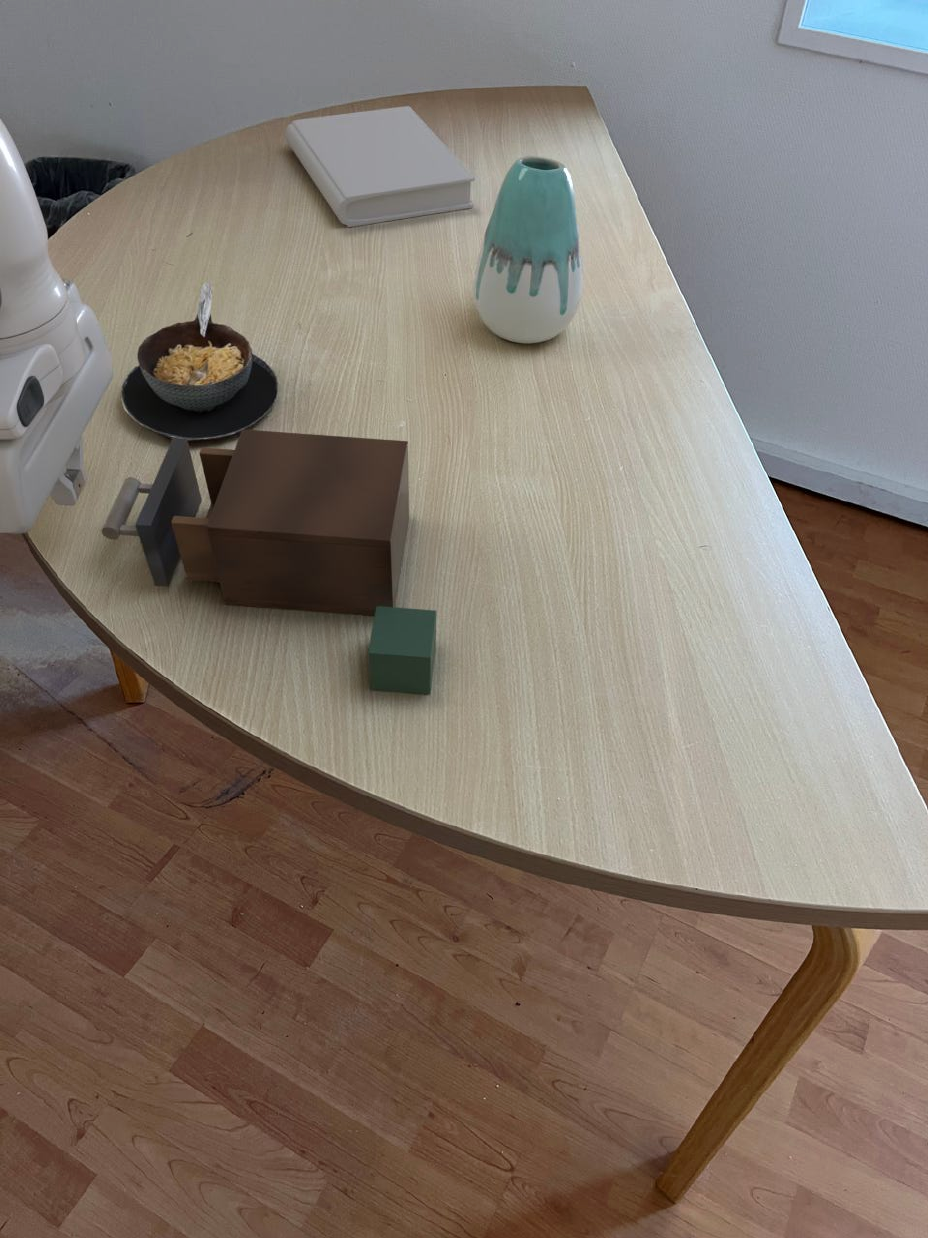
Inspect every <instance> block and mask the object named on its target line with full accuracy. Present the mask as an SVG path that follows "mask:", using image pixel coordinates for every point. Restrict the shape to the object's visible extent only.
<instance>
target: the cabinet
mask: <svg viewBox="0 0 928 1238" xmlns="http://www.w3.org/2000/svg"><path fill="white" fill-rule="evenodd" d="M234 450H235V451H234V453H233V456H232V459H231V462H230V464H229V467H228V470H227V472H226V475H225V478H224V481H223V483H222V486H221V489H220V492H219V494H218V497H217V500H216V503H215V505H214V508H213V511H212V514H211V516H210V519H209V522H208V525H207V531H208V536H209V540H210V544H211V548H212V552H213V556H214V561H215V565H216V569H217V573H218V577H219V581H220V582H219V584H220V585H219V586H220V589H221V594H222V597H223V601H224V604H225V605H227V606H240V607H241V606H242V607H253V608H266V609H267V608H268V609H280V610H281V609H282V610H293V611H306V612H318V613H330V614H331V613H334V614H345V615H359V616H373V617H374V616H375V611H376V606H382V607H395V608H396V604H397V597H398V592H399V591H398V590H399V584H400V578H401V572H402V565H403V559H404V555H405V554H404V553H405V546H406V541H407V535H408V527H409V521H410V490H409V489H410V486H409V485H410V484H409V483H410V482H409V441H407V440H395V439H381V438H367V437H353V436H341V435H328V434H327V435H326V434H325V435H324V434H314V433H298V432H286V431H272V430H271V431H270V430H258V429H247V430H245V429H242V431H241V432H240V433H239V437H238V440H237V442H236V445H235V448H234Z"/></svg>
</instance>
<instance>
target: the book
mask: <svg viewBox="0 0 928 1238" xmlns="http://www.w3.org/2000/svg"><path fill="white" fill-rule="evenodd" d="M285 140H286V142H287V143H288V145H289V147H290V148H291V149H292V151H293V153H294V154H295V156H296V158H297V159H298V160H299V162H300V163H301V165H302V167H303V168H304V169H305V171H306V172H307V174H308V175H309V177H310V178H311V180H312V182H313V183H314V185H315V186H316V188H317V189H318V190H319V192H320V194H321V195H322V196H323V198H324V199H325V201H326V202H327V204H328V205H329V207H330V208H331V210H332V211H333V213H334V214H335V216H336V217H337V219H338V220H339V222H340V223H341V224H342V225H346V227H347V228H354V227H360V226H365V225H371V224H372V225H373V224H378V223H386V222H392V221H398V220H404V219H410V218H415V217H424V216H429V215H435V214H436V215H437V214H441V213H449V212H455V211H462V210H467V209H472V208H474V205H475V204H474V203H473V201H471V185H472V184H471V182H475V180H476V179H475V177H474V175H473V174H471V172H470V171H469V170H468V169H467V168H466V166H464V165H463V164H462V162H461V161H460V160H459V159H458V158H457V157H456V155H454V153H452V151H451V150H450V149H449V148H448V147H447V146H446V145H445V143H444V142H443V141H442V140H440V138H439V137H438V136H437V135H436V134H435V132H433V131H432V130H431V128H430V126H428V125H427V124H426V123H425V122H424V121H423V119H422V118H421V117H420V116H419V115H418V114H417V113H416V111H414V110H413V109H412V107H410V105H406V106H398V107H390V108H382V109H373V110H365V111H357V112H350V113H342V114H334V115H332V114H331V115H325V116H317V117H308V118H302V119H295V120H292V121H291V123H289V124H288V125H287V127H286V129H285Z"/></svg>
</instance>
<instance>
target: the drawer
mask: <svg viewBox="0 0 928 1238" xmlns="http://www.w3.org/2000/svg"><path fill="white" fill-rule="evenodd" d="M188 441H189V440H187V439H184V438H173V439H171V442H170V444H169V446H168V448H167V451H166V452H165V455H164V458H163V460H162V462H161V465H160V467H159V469H158V471H157V473H156V476H155V478H154V481H153V483H142V482H141V480H139V479H138V478H137V477H127V478H125V480H124V481H123V484H122V485H121V487H120V490H119V492H118V494H117V495H116V496H117V497H116V499H115V501H114V503H113V505H112V506H111V509H110V512H109V513H108V515H107V517H106V520H105V522H104V524H103V526H102V528H101V535H102V536H103V537H104V538H106V539H108V540H113V541H115V540H118V539H119V538H120V536H127V537H128V536H130V537H138V538H139V542H140V544H141V548H142V552H143V553H144V557H145V560H146V563H147V566H148V569H149V573H150V575H151V578H152V580H153V585H154V587H162V588H169V587H170V586H171V582H172V580H173V577H174V575H175V573H176V570H177V567H178V564H179V562H180V559H181V563H182V566H183V570H184V573H185V577H186V580H189V581H201V582H216V583H220V581H219V577H218V573H217V569H216V565H215V561H214V556H213V552H212V548H211V544H210V540H209V536H208V531H207V525H208V522H209V519H210V516H211V514H212V511H213V508H214V505H215V503H216V500H217V497H218V494H219V492H220V489H221V486H222V483H223V481H224V478H225V475H226V472H227V470H228V467H229V464H230V462H231V459H232V456H233V453H234V451H235V449H232V448H231V449H229V448H216V447H204V446H203V447H201V448H200V450H199V452H198V453H199V457H200V462H201V466H202V470H203V476H204V479H205V484H206V488H207V492H208V496H209V500H210V505H209V508H208V510H207V514H206V515H205V517H198V516H197V514H198V512H199V509H200V506H201V504H202V502H203V500H202V495H201V491H200V486H199V483H198V479H197V473H196V470H195V468H194V467H195V466H194V462H193V457H192V454H191V450H190V446H189V442H188ZM139 494H147V497H146V498H145V501H144V503H143V506H142V508H141V511H140V512H139V514H138V517H137V518H136V522H135V524H134V525H128V524H126V523H127V521H128V519H129V518H130V517H129V516H130V514H131V512H132V510H133V508H134V506H135V503H136V501H137V499H138V496H139Z"/></svg>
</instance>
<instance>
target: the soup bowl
mask: <svg viewBox="0 0 928 1238" xmlns="http://www.w3.org/2000/svg"><path fill="white" fill-rule="evenodd" d="M212 296H213V289H212V285H211V284H210V281H208V282H205V283H203V284H202V286H201V289H200V295H199V303H198V307H197V314H196V316H195V318H194V319H193V320H190V321H184V322H176V323H174V324H171V325H169V326H165V327H162V328H161V329H159V330H157V331H156V332H154V333H152V334H150V335H149V336H146V338H145V339H144V340H143V341H142V343H141V344H140V345H139V346H138V349H137V356H136V357H137V362H138V365H136V366H134V367H133V368H132V369H131V371H129V372H128V374H127V375H126V376H127V377H126V378H125V379H124V381H123V383H122V385H121V389H120V401H121V405H122V408H123V410H124V412H125V413H126V414H128V415H129V416H130V417H131V418H132V419H133V420H134V421H135V422H136V423H138V424H140V426H143V427H144V428H147V429H149V430H151V431H152V432H155V433H157V434H159V435H161V436H163V437H166V438H168V439H170V440H172V439H173V438H184V439H187V441H203V440H204V441H205V440H206V441H212V440H219V439H224V438H227V437H231V436H234V435H237V434H241V431H242V429H245V430H250V429H251V427H253V426H254V425H255V424H256V423H257V422H258V421H259V420H261V419H262V418H263V417H264V416H265V415H267V414H268V412H269V411H270V410H271V408H272V406H273V404H274V403H275V400H276V399H277V397H278V396H277V395H278V391H279V389H278V387H279V386H278V378H277V375H276V373H275V371H274V370H273V369H272V367H271V366H270V365H269V364H268V363H267V362H266V361H264V359H262V358H260V357H259V356H257V355H256V354H254V353H253V348H252V347H251V344H250V342H249V340H247V338H246V337H245V336H244V335H242V334H241V333H239V332H238V331H236V330H235V329H233V328H232V327H230V326H228V325H226V324H222V323H221V324H220V323H215V322H213V320H212V313H211V312H212V302H213V300H212V298H213V297H212Z"/></svg>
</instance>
